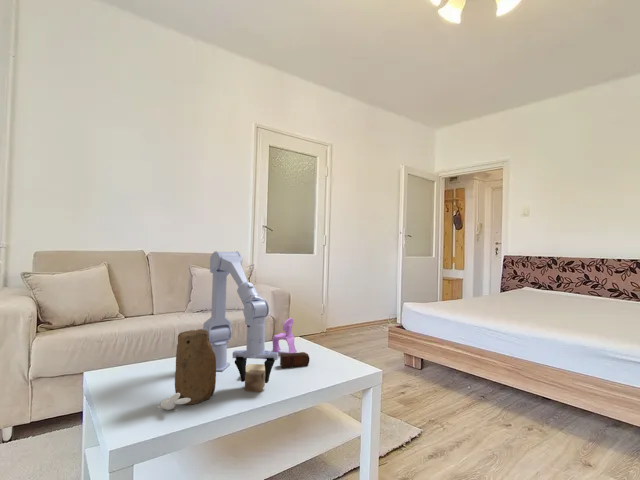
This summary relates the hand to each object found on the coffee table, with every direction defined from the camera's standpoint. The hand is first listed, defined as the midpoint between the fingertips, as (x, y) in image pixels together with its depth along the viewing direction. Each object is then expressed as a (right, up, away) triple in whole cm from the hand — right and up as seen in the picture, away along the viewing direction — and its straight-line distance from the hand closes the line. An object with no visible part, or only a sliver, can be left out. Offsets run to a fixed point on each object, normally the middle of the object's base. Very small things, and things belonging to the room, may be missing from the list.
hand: (255, 381), depth 111 cm
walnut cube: (0, -2, 0) cm, 2 cm away
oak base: (-2, -3, +11) cm, 12 cm away
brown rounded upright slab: (-16, -2, -8) cm, 18 cm away
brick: (+11, -3, +22) cm, 25 cm away
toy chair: (+5, -4, +39) cm, 39 cm away
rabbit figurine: (-19, -2, -16) cm, 25 cm away
